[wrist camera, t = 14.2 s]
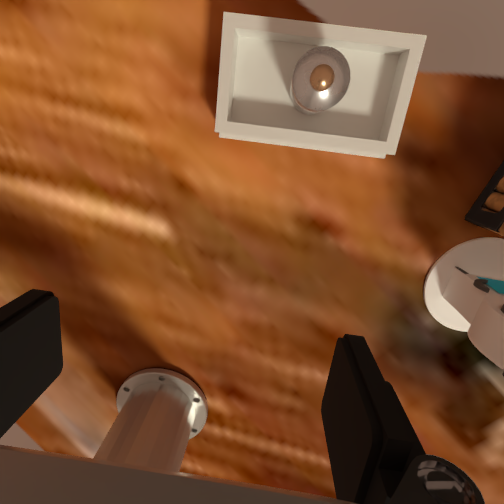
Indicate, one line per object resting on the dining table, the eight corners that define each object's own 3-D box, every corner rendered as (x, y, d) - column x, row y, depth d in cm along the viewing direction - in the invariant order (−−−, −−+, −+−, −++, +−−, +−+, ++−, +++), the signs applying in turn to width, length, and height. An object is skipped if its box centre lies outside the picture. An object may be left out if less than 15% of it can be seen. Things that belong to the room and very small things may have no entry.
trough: (381, 157, 32) (393, 161, 29) (221, 137, 32) (214, 137, 29) (411, 39, 28) (428, 27, 25) (230, 18, 29) (224, 4, 26)
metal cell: (329, 117, 30) (345, 112, 23) (286, 112, 30) (288, 106, 23) (338, 68, 29) (359, 46, 21) (293, 63, 29) (298, 39, 21)
